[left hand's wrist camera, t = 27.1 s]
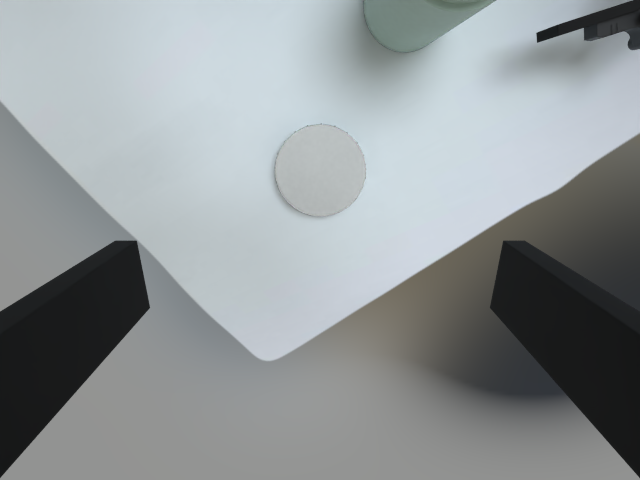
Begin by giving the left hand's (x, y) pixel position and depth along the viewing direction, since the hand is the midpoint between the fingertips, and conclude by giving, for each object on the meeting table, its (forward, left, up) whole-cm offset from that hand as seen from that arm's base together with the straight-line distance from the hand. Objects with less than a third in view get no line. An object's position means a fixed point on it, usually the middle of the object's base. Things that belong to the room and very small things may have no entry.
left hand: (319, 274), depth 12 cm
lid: (0, 0, -25) cm, 25 cm away
